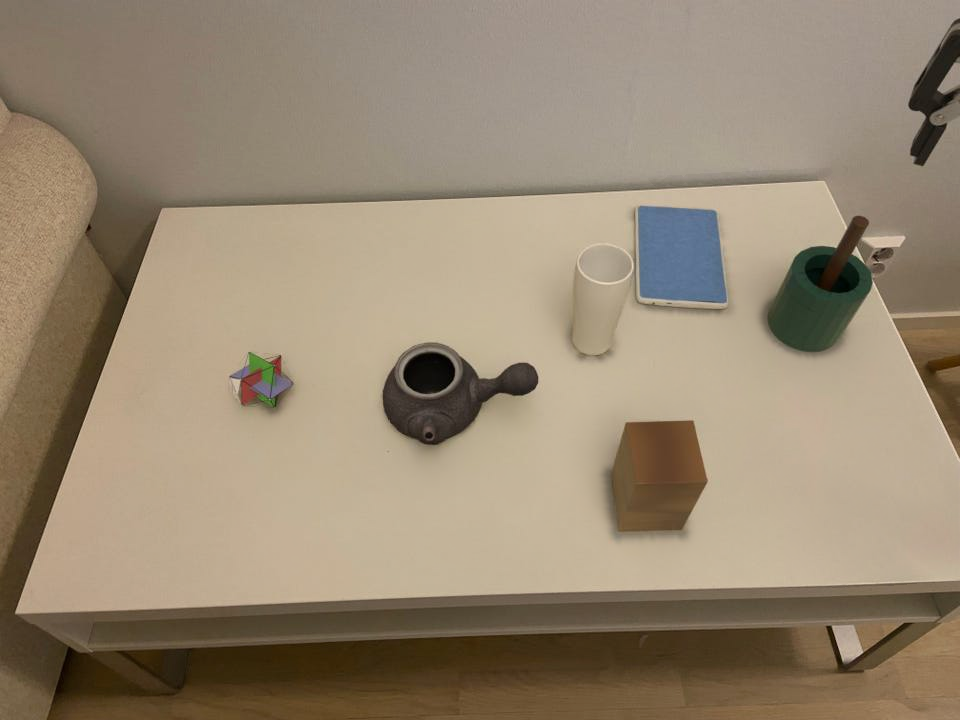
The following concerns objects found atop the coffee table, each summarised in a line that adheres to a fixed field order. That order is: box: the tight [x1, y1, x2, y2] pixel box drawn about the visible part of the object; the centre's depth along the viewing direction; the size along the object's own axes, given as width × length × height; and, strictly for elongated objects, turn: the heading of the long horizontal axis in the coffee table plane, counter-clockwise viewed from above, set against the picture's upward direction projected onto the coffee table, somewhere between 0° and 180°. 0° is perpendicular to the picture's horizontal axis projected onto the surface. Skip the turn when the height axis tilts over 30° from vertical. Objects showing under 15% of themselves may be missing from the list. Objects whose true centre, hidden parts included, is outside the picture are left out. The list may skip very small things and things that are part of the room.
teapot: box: [381, 341, 539, 446], centre depth 83 cm, size 19×15×10 cm
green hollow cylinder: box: [767, 245, 874, 353], centre depth 90 cm, size 9×9×10 cm
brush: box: [816, 215, 870, 292], centre depth 86 cm, size 4×4×18 cm
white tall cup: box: [571, 242, 635, 356], centre depth 87 cm, size 7×7×15 cm
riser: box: [610, 419, 709, 533], centre depth 75 cm, size 7×7×12 cm
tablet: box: [634, 204, 730, 310], centre depth 101 cm, size 19×13×1 cm, turn 173°
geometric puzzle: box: [228, 350, 295, 409], centre depth 87 cm, size 7×7×8 cm
